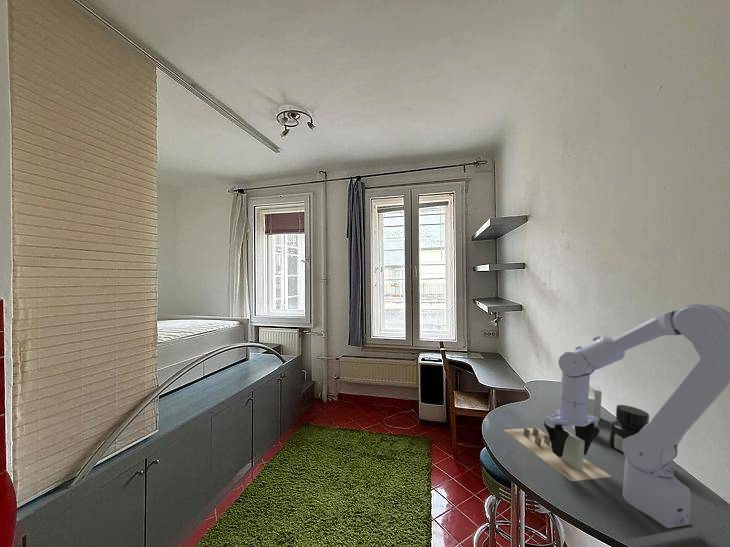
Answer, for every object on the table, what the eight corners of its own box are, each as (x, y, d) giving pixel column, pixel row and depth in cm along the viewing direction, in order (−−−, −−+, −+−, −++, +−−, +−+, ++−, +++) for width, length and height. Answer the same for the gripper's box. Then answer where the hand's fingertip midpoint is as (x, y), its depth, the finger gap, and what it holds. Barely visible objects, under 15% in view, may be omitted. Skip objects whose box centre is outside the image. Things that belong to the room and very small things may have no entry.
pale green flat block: (582, 470, 71) (584, 441, 71) (577, 470, 71) (579, 441, 71) (560, 454, 77) (562, 428, 77) (555, 455, 77) (558, 428, 77)
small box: (597, 416, 106) (600, 387, 106) (600, 422, 101) (602, 391, 101) (570, 409, 110) (573, 381, 110) (571, 414, 106) (574, 385, 106)
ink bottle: (615, 456, 81) (618, 412, 81) (601, 440, 89) (605, 400, 89) (660, 466, 77) (664, 421, 77) (642, 449, 86) (645, 408, 86)
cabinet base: (611, 480, 70) (612, 476, 70) (571, 485, 67) (571, 481, 67) (536, 431, 91) (536, 427, 91) (503, 433, 88) (503, 429, 88)
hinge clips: (550, 445, 82) (550, 437, 82) (539, 445, 81) (539, 438, 81) (534, 434, 87) (534, 427, 87) (523, 434, 86) (524, 428, 86)
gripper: (581, 392, 80) (576, 442, 80) (537, 393, 76) (532, 446, 76) (608, 404, 73) (603, 459, 73) (561, 406, 69) (556, 463, 69)
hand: (569, 453), depth 74 cm, fingers open, 7 cm apart
